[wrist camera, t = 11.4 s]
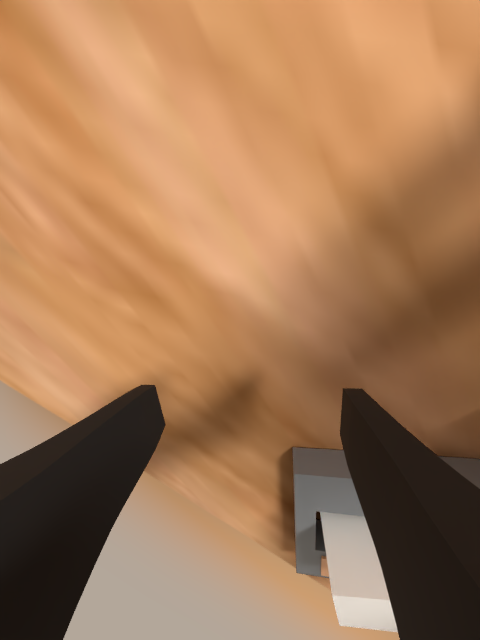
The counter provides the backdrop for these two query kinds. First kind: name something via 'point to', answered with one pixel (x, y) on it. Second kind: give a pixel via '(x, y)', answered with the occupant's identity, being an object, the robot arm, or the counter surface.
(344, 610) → the plug
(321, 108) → the counter surface
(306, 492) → the socket board
